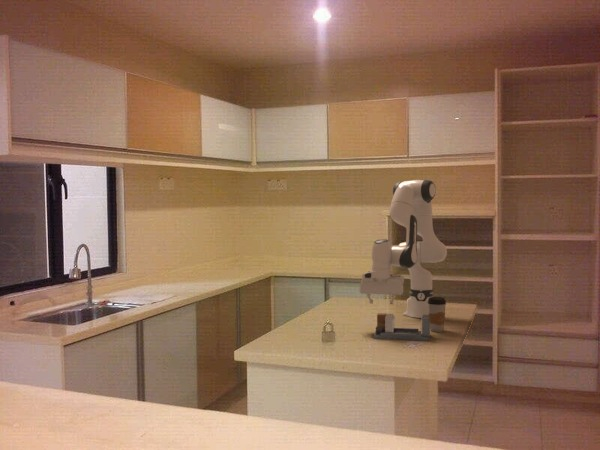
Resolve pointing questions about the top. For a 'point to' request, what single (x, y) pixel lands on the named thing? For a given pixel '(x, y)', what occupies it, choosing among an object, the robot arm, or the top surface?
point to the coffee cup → (437, 313)
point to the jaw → (387, 324)
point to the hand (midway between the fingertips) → (381, 303)
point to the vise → (408, 332)
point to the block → (381, 319)
